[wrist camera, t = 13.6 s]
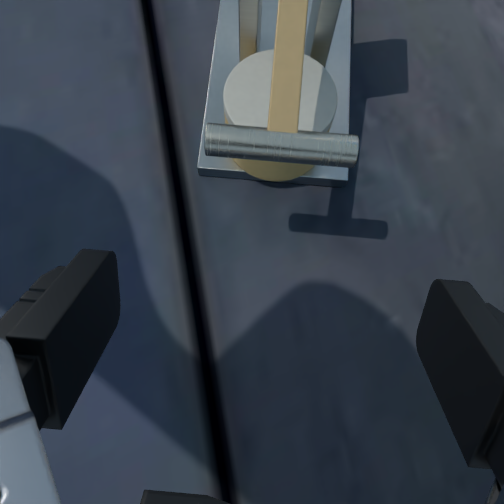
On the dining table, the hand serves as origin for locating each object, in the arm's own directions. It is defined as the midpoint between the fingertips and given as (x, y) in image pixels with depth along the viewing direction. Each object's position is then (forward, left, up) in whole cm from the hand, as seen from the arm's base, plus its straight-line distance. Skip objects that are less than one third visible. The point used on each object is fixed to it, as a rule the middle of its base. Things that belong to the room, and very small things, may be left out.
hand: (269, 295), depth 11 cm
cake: (-9, +9, -12) cm, 17 cm away
